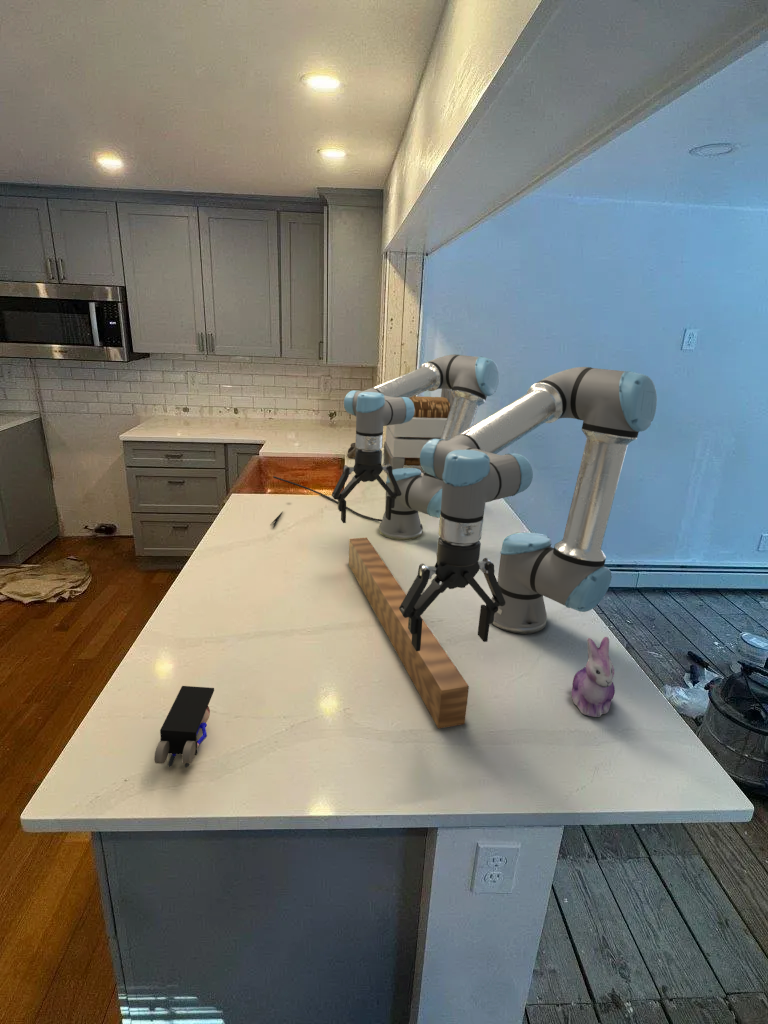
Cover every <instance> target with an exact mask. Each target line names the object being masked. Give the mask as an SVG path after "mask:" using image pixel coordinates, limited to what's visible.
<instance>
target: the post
mask: <svg viewBox="0 0 768 1024" xmlns="http://www.w3.org/2000/svg"><path fill="white" fill-rule="evenodd" d="M348 539H349V540H348V541H349V542H348V567H349V568H350V570H351V572H352V573H353V576H354V577H355V579H356V581H357V583H358V584H359V587H360V588H361V590H362V592H363V594H364V595H365V597H366V599H367V602H368V603H369V606H370V607H371V608H372V610H373V612H374V614H375V616H376V617H377V619H378V621H379V623H380V625H381V627H382V628H383V630H384V632H385V634H386V636H387V638H388V640H389V642H390V643H391V645H392V647H393V648H394V651H395V652H396V654H397V656H398V658H399V660H400V661H401V663H402V665H403V667H404V669H405V671H406V672H407V674H408V676H409V678H410V680H411V681H412V684H413V685H414V687H415V689H416V691H417V692H418V694H419V696H420V698H421V700H422V702H423V703H424V705H425V707H426V710H427V711H428V713H429V715H430V716H431V718H432V720H433V722H434V725H436V727H437V729H445V728H450V727H455V726H462V725H465V724H466V715H467V708H468V707H467V706H468V698H469V691H470V686H469V684H468V683H467V681H466V679H464V677H463V675H462V674H461V673H460V671H459V669H458V668H457V666H456V665H455V664H454V662H453V661H452V660H451V658H450V657H449V655H448V654H447V652H446V650H445V648H444V647H443V646H442V645H441V643H440V642H439V640H438V639H437V638H436V636H435V635H434V633H433V632H432V630H431V629H430V627H429V626H428V624H427V623H426V622H425V620H424V618H423V617H422V615H421V616H420V617H421V618H422V633H421V647H420V651H416V650H415V648H414V647H413V645H412V634H411V633H410V631H409V629H408V620H409V617H407V618H405V617H404V616H403V615H402V613H401V612H400V610H399V607H400V605H401V603H402V602H403V600H404V598H405V596H406V595H407V593H406V592H405V591H404V589H403V588H402V587H401V585H400V583H399V582H398V580H397V579H396V578H395V576H394V574H393V573H392V572H391V570H390V569H389V567H388V566H387V565H386V563H385V561H384V560H383V558H381V556H380V554H379V552H377V550H376V548H375V547H374V546H373V544H372V542H371V541H370V540H369V538H368V537H356V538H355V537H354V538H348Z"/></svg>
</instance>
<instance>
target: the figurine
mask: <svg viewBox="0 0 768 1024" xmlns="http://www.w3.org/2000/svg"><path fill="white" fill-rule="evenodd" d="M586 641H587V643H586V644H587V659H588V660H587V662H586V664H585V666H584V667H583V668H580V669H579V670H578V671H576V673H575V674H574V675H573V679H572V686H571V691H570V692H571V699H572V702H573V704H574V705H575V706H576V707H577V708H578V710H579V711H580V713H581V714H583V715H584V716H589V717H594V718H600V717H601V716H602V715H605V714H607V713H608V712H609V711H610V708H611V704H612V702H613V699H614V697H615V693H616V690H615V689H616V688H615V684H614V682H613V681H614V680H613V679H614V677H615V667H614V664H613V662H612V659H611V658H610V654H609V653H610V638H609V637H608V636H604V637H603V638H602V640H601V642H600V645H599V647H598V646H597V644H596V643H595V641H594V640H593V639H592V637H591V638H590V637H588V638H587V640H586Z"/></svg>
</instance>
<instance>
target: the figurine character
mask: <svg viewBox="0 0 768 1024" xmlns="http://www.w3.org/2000/svg"><path fill="white" fill-rule="evenodd" d="M214 692H215V687H206V686H194V685H193V686H189V685H182V686H181V687H180V689H179V691H178V693H177V695H176V697H175V698H174V701H173V704H172V705H171V707H170V709H169V712H168V714H167V716H166V718H165V719H164V721H163V723H162V726H161V728H160V729H159V733H160V740H159V742H158V743H157V745H156V748H155V751H154V757H153V758H154V763H155V764H160V765H165V763H166V762H167V759H168V757H169V755H170V757H169V759H168V762H167V767H168V768H171V767H173V765H174V762H175V759H176V757H177V755H181V762H182V764H184V767H185V768H188V767H189V766H190V764H192V763H193V762H194V760H195V756H197V755H198V748H199V746H200V744H202V742H203V741H204V740H205V739H206V738H207V737H208V734H207V729H206V728H207V727H208V723H207V722H208V721H209V719H210V716H211V710H210V707H209V705H210V702H211V700H212V697H213V694H214ZM200 729H201V732H202V735H201V736H200V737H199V738H198V735H199V731H200Z"/></svg>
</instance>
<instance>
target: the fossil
mask: <svg viewBox="0 0 768 1024" xmlns="http://www.w3.org/2000/svg"><path fill="white" fill-rule="evenodd" d="M355 443H356V442H352V443H350V446H349V448H348V449H347V457H348V458H349V459H355V450H356V449H357V448H356V447H355Z"/></svg>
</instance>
